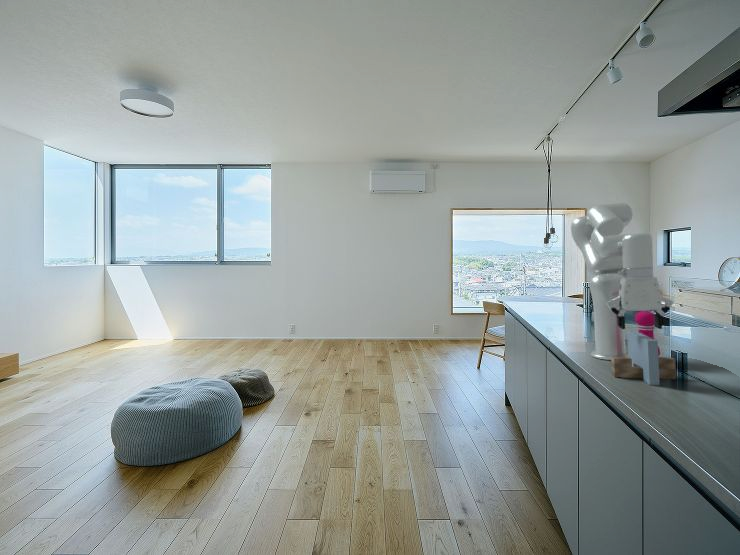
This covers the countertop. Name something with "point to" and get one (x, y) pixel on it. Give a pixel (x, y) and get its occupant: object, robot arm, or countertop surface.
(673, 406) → the countertop surface
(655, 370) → the light blue flat board
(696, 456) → the countertop surface
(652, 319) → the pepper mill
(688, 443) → the countertop surface
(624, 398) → the countertop surface
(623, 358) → the brown wooden u-shaped block
